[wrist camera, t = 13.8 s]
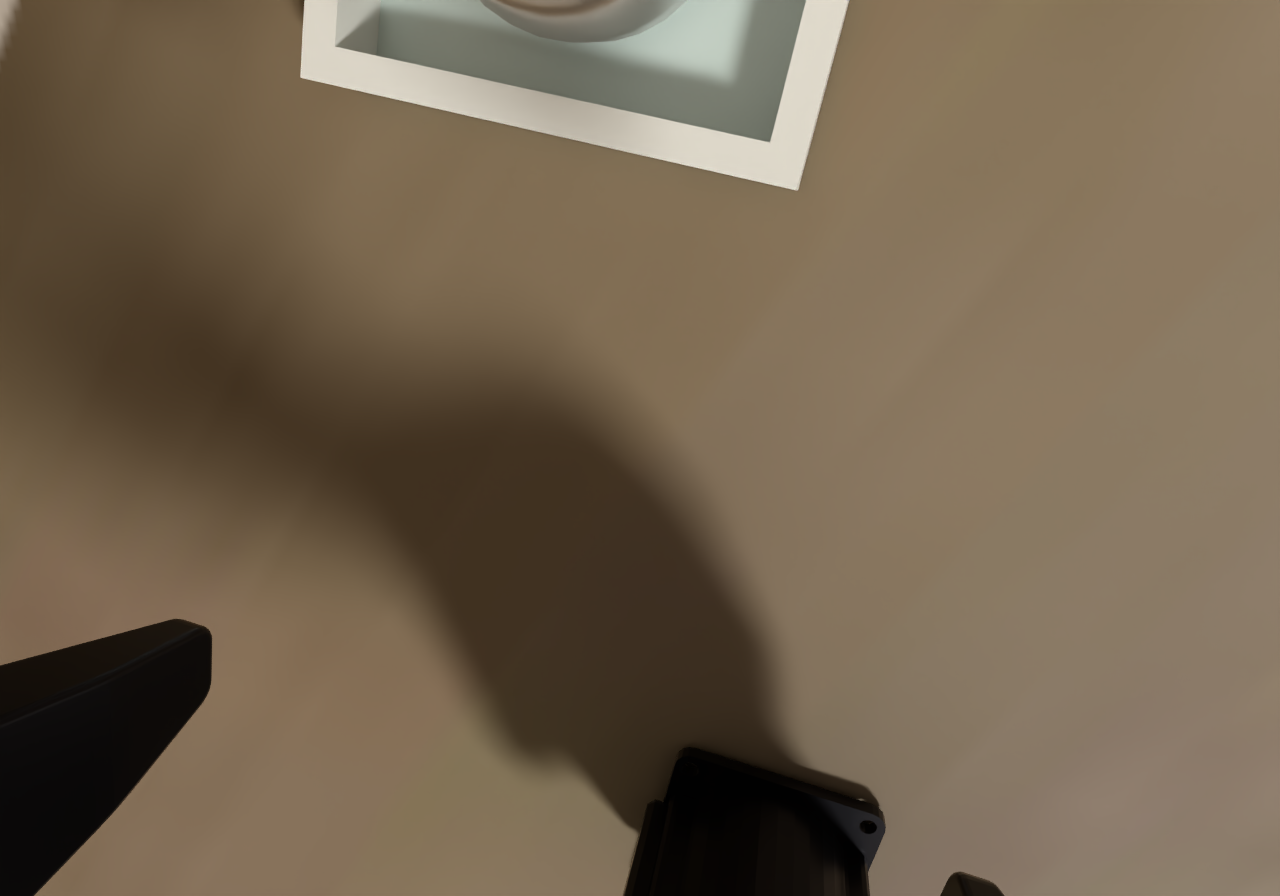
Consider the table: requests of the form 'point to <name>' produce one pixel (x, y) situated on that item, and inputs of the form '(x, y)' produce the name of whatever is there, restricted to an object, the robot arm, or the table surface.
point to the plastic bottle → (583, 17)
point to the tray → (602, 75)
